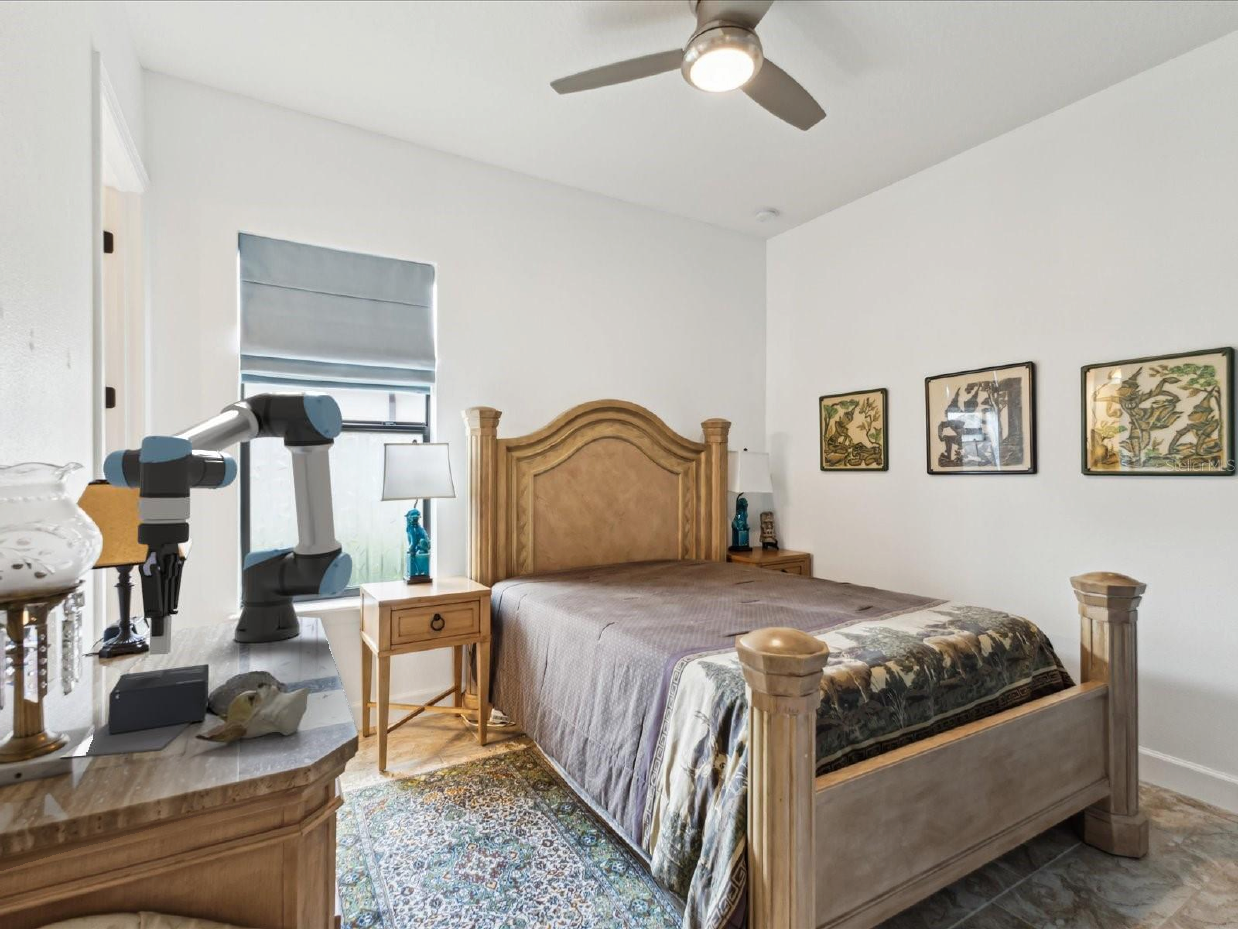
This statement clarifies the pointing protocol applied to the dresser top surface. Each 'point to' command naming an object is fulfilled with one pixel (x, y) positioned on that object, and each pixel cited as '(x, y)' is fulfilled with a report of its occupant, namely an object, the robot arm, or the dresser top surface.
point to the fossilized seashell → (240, 689)
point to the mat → (133, 740)
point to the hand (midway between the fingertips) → (160, 653)
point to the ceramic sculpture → (260, 714)
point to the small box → (158, 698)
